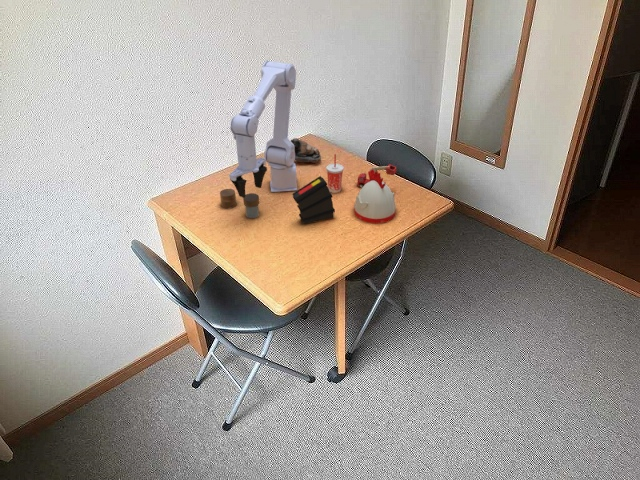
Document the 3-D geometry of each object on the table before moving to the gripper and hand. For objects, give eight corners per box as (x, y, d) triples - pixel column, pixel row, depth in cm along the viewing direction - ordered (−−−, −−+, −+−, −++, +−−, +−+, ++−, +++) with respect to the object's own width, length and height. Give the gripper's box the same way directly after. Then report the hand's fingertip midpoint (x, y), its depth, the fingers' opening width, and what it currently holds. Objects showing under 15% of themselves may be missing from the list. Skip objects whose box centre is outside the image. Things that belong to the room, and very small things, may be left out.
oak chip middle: (231, 193, 171) (230, 187, 169) (238, 199, 167) (237, 193, 166) (217, 197, 168) (217, 191, 167) (225, 203, 165) (224, 197, 163)
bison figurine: (320, 157, 198) (320, 134, 192) (321, 165, 193) (321, 141, 187) (291, 158, 198) (290, 135, 192) (291, 166, 192) (290, 142, 186)
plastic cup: (259, 210, 165) (258, 199, 163) (259, 217, 162) (258, 206, 159) (246, 211, 165) (244, 200, 162) (246, 218, 161) (245, 207, 159)
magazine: (343, 212, 161) (325, 180, 151) (309, 234, 161) (289, 202, 151) (339, 207, 164) (321, 174, 154) (306, 228, 164) (286, 196, 154)
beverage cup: (334, 195, 174) (334, 160, 166) (322, 189, 177) (322, 154, 169) (346, 190, 177) (347, 154, 169) (335, 183, 181) (335, 149, 173)
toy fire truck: (358, 182, 181) (360, 159, 176) (394, 189, 177) (397, 165, 172) (356, 186, 179) (357, 162, 173) (392, 193, 175) (394, 169, 169)
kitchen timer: (378, 197, 172) (381, 159, 164) (403, 215, 163) (408, 175, 154) (346, 208, 166) (347, 169, 158) (370, 227, 157) (373, 186, 148)
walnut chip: (259, 198, 163) (258, 192, 162) (259, 206, 159) (259, 200, 158) (243, 200, 163) (242, 193, 161) (243, 208, 158) (243, 201, 157)
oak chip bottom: (236, 200, 171) (235, 194, 170) (236, 207, 167) (235, 201, 166) (221, 201, 171) (220, 195, 169) (221, 208, 167) (220, 202, 165)
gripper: (239, 165, 144) (243, 204, 152) (271, 148, 153) (274, 186, 161) (222, 159, 147) (227, 197, 155) (255, 143, 157) (258, 180, 164)
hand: (250, 191), depth 158 cm, fingers open, 7 cm apart
